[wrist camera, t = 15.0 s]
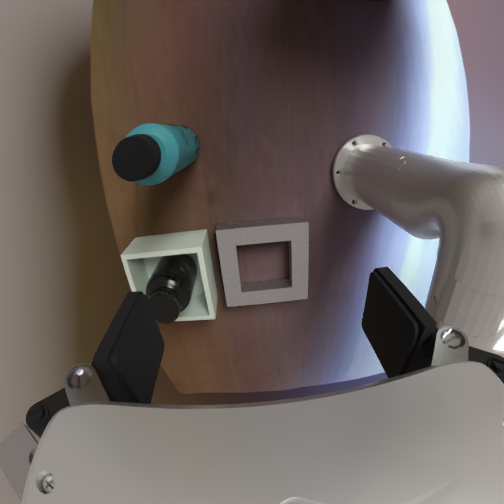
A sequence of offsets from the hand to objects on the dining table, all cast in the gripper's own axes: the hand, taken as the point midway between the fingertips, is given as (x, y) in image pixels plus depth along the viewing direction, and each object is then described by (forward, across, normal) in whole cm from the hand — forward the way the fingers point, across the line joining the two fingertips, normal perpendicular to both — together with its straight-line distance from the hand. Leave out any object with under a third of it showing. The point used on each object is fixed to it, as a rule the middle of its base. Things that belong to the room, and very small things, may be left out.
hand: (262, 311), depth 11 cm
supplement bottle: (+32, +13, +14) cm, 37 cm away
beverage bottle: (+32, +9, -6) cm, 34 cm away
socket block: (+32, -2, +14) cm, 35 cm away
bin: (+32, +13, +14) cm, 38 cm away
